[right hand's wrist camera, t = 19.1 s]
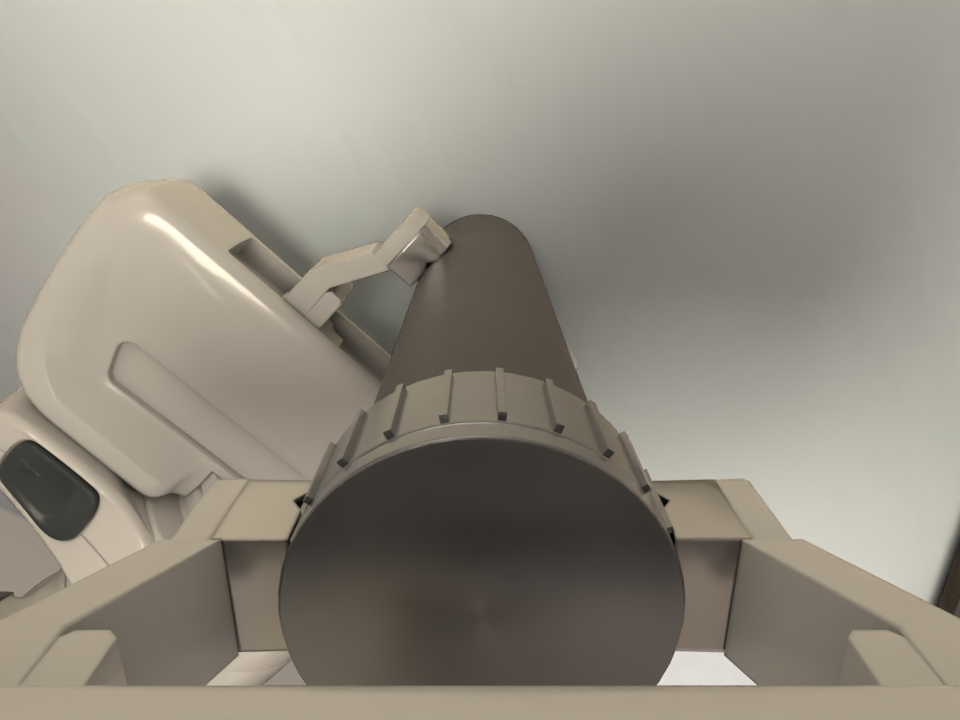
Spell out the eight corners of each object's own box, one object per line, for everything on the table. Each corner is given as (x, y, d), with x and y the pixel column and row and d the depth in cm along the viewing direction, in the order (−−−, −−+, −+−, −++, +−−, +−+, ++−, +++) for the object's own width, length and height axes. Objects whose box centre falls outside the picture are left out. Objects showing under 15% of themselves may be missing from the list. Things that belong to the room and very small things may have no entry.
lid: (319, 653, 11) (286, 767, 9) (299, 359, 9) (252, 423, 7) (632, 660, 11) (663, 775, 9) (671, 368, 9) (721, 435, 7)
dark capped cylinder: (435, 204, 26) (340, 410, 8) (545, 225, 26) (682, 468, 8) (418, 310, 27) (305, 681, 10) (522, 329, 28) (598, 723, 10)
